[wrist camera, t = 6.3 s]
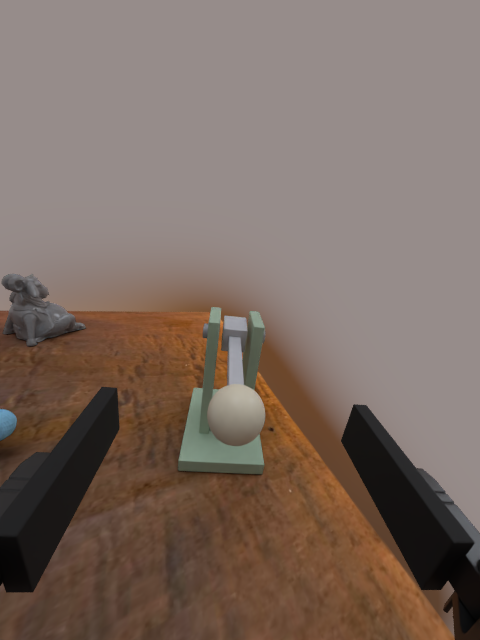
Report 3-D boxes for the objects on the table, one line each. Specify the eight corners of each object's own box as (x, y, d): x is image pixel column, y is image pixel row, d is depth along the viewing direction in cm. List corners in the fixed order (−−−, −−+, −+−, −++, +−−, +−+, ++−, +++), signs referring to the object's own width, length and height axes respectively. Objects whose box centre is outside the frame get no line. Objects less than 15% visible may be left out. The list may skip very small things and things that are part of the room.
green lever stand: (262, 474, 24) (290, 345, 19) (177, 471, 23) (184, 336, 18) (251, 399, 34) (268, 304, 29) (193, 395, 33) (200, 297, 28)
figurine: (90, 329, 48) (85, 274, 44) (28, 347, 39) (17, 281, 35) (63, 318, 51) (57, 266, 47) (1, 332, 42) (-12, 270, 38)
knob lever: (263, 461, 15) (274, 418, 13) (202, 458, 14) (206, 413, 13) (248, 343, 26) (253, 313, 25) (214, 339, 26) (218, 309, 25)
